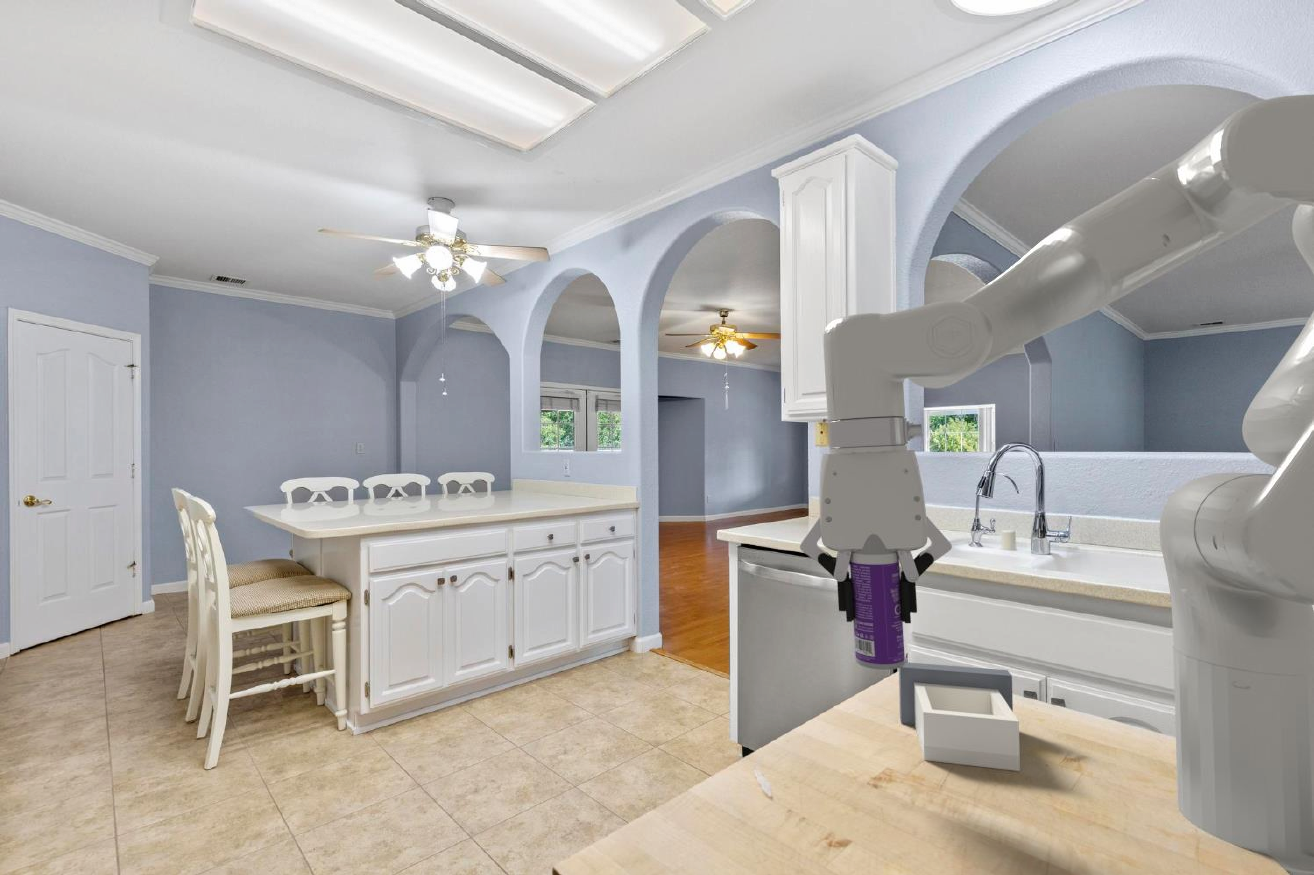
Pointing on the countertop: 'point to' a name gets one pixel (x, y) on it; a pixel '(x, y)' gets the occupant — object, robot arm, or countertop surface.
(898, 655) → the container
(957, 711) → the socket block
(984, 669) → the track
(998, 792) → the countertop surface
